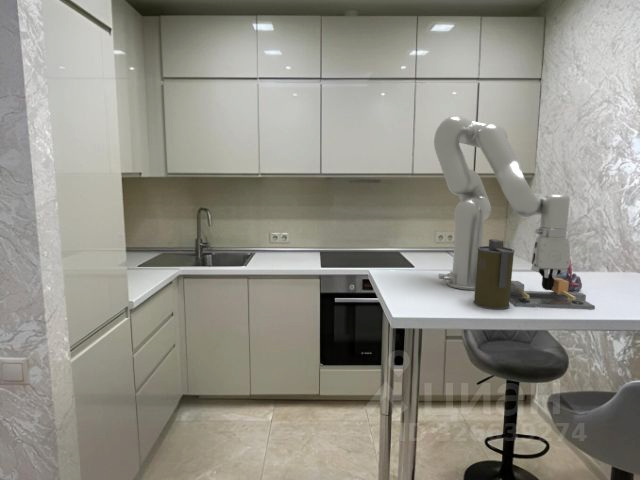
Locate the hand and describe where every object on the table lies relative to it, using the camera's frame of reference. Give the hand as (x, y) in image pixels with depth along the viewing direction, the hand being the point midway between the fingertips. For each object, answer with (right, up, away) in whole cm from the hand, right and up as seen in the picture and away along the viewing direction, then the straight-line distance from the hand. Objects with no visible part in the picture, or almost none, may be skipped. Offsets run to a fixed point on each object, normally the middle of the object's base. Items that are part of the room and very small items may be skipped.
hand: (547, 289), depth 138 cm
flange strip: (-2, -4, -6) cm, 8 cm away
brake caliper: (+13, -2, +14) cm, 19 cm away
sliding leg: (+4, -2, -3) cm, 5 cm away
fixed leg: (-10, -2, -3) cm, 11 cm away
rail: (0, -3, +1) cm, 3 cm away
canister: (-21, -4, -7) cm, 22 cm away
